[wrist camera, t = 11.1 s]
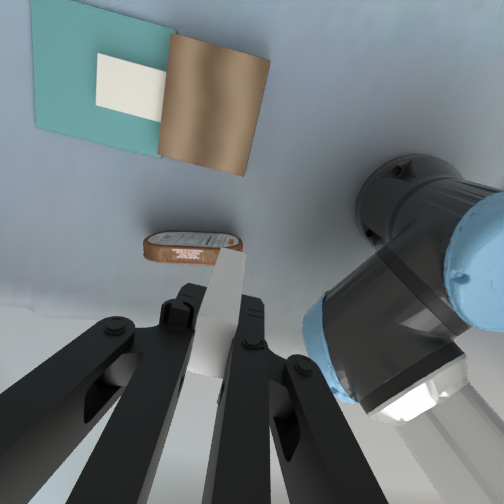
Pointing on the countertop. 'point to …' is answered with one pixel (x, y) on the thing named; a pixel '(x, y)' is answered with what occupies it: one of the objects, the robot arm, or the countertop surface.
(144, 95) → the white rectangular block
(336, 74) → the countertop surface
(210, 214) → the countertop surface
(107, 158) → the countertop surface
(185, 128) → the brown wooden block
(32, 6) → the mat
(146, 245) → the tin
